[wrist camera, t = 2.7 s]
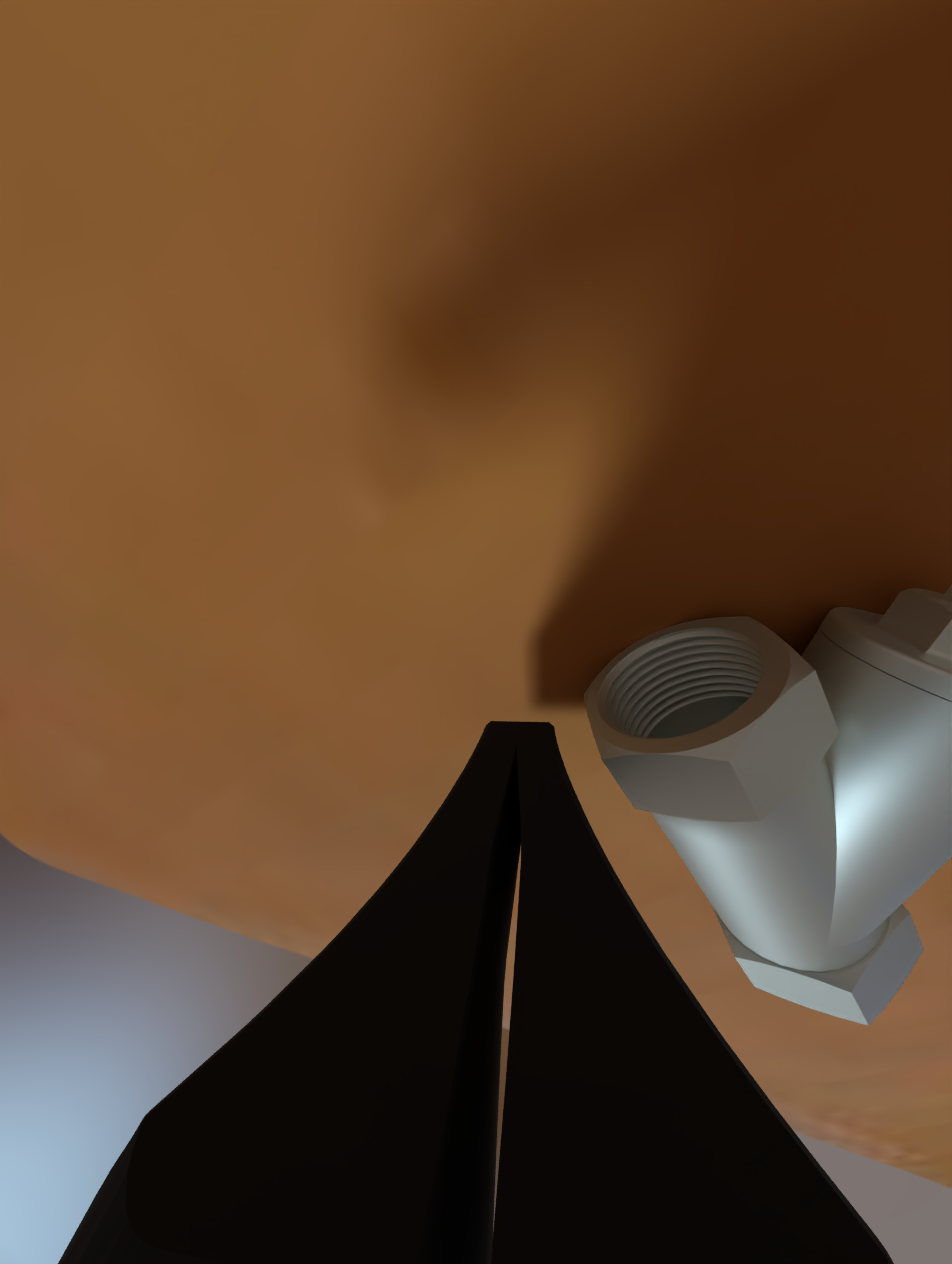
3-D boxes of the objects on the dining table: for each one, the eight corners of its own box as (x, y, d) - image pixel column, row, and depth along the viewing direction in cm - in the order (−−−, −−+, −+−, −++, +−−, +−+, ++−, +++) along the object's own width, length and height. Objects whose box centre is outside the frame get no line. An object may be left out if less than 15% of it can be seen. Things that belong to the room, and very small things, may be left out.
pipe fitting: (906, 499, 8) (573, 664, 10) (1226, 560, 4) (610, 799, 6) (978, 785, 10) (704, 870, 12) (1212, 966, 7) (781, 1045, 9)
